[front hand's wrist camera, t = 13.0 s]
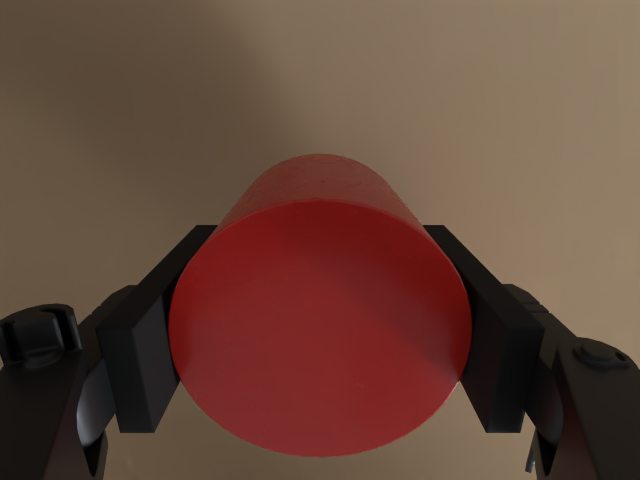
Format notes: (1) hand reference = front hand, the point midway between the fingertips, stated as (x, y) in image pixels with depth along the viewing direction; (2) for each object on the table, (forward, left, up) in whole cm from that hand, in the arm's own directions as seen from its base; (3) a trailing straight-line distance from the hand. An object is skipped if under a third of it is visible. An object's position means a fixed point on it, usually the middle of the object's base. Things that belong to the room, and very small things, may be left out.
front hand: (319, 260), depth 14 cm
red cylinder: (0, 0, -2) cm, 2 cm away
